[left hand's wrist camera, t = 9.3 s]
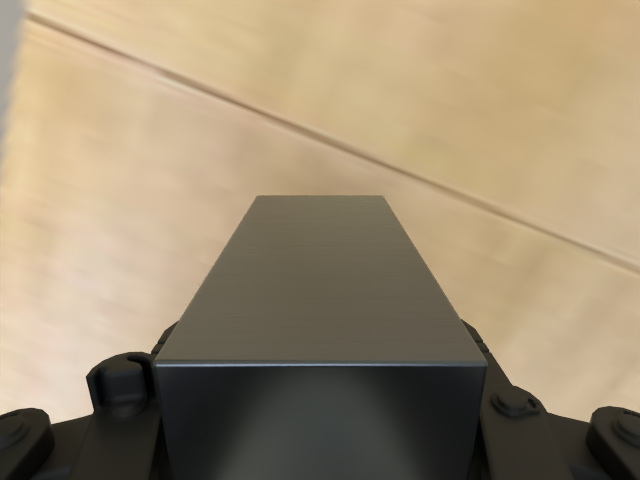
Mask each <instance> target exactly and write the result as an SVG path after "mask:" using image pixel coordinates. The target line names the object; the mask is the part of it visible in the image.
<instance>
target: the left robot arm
mask: <svg viewBox="0 0 640 480" xmlns="http://www.w3.org/2000/svg"><path fill="white" fill-rule="evenodd" d="M461 321H462V322H463V324H464V325H465V327H466V329H467V330H468V332H469V333H470V335H471V337H472V338H473V340H474V341H475V343H476V344H477V346H478V348H479V349H480V351H481V352H482V354H483V356H484V357H485V359H486V360H487V363H488V366H487V372H486V378H485V384H484V390H483V396H482V402H481V407H480V413H479V419H478V425H477V431H476V437H475V443H474V448H473V454H472V460H471V466H470V472H469V478H468V480H640V413H637V412H634V411H631V410H628V409H625V408H620V407H612V406H607V407H601V408H598V409H597V410H596V411H595V412H593V413H592V417H591V420H590V423H588V422H584V421H579V420H575V419H571V418H566V417H562V416H558V415H555V414H551V413H548V412H547V411H546V409H545V408H544V406H543V405H542V403H541V402H540V401H539V400H538V399H537V398H536V397H534V396H533V395H532V394H531V393H529V392H527V391H525V390H523V389H521V388H519V387H517V386H513V385H512V384H511V383H510V381H509V380H508V378H507V376H506V375H505V373H504V372H503V370H502V369H501V367H500V366H499V364H498V363H497V361H496V360H495V358H494V357H493V355H492V354H491V353H489V349H488V348H487V346H486V345H485V343H483V340H482V339H481V337H480V335H479V334H478V332H477V331H476V329H474V328H473V327H472V326H470V325H469V324H468V323H466V322H465V321H463V320H462V319H461ZM178 322H179V321H177V322H176V323H175V324H173V325H172V326H171V327H169V328H168V329H166V330H165V331H164V333H163V334H162V336H161V338H160V339H159V341H158V344H156V345H155V347H154V348H153V350H152V351H151V354H148V353H144V352H128V353H123V354H119V355H115V356H113V357H111V358H108V359H106V360H104V361H102V362H101V363H99V364H98V365H96V366H95V367H94V368H92V370H91V371H90V372H89V373H88V375H87V376H86V380H87V384H88V388H89V392H90V396H91V400H92V404H93V408H94V412H93V414H91V415H88V416H85V417H81V418H77V419H73V420H68V421H64V422H60V423H55V424H51V422H50V419H49V415H48V414H47V413H46V412H44V411H43V410H41V409H36V408H26V409H18V410H15V411H12V412H8V413H6V414H3V415H0V480H172V474H171V469H170V463H169V457H168V451H167V445H166V439H165V433H164V427H163V421H162V416H161V410H160V404H159V398H158V392H157V386H156V380H155V374H154V368H153V363H154V360H155V358H156V357H157V355H158V354H159V352H160V350H161V349H162V347H163V346H164V344H165V342H166V341H167V339H168V338H169V336H170V334H171V333H172V331H173V330H174V328H175V326H176V325H177V323H178Z"/></svg>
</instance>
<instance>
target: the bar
mask: <svg viewBox="0 0 640 480" xmlns="http://www.w3.org/2000/svg"><path fill="white" fill-rule="evenodd" d="M487 366H488V363H487V360H486V359H485V357H484V356H483V354H482V352H481V351H480V349H479V348H478V346H477V344H476V343H475V341H474V340H473V338H472V337H471V335H470V333H469V332H468V330H467V329H466V327H465V325H464V324H463V322H462V321H461V319H460V318H459V316H458V314H457V313H456V311H455V310H454V308H453V306H452V305H451V303H450V302H449V300H448V298H447V297H446V295H445V294H444V292H443V291H442V289H441V287H440V286H439V284H438V283H437V281H436V279H435V278H434V276H433V275H432V273H431V272H430V270H429V268H428V267H427V265H426V264H425V262H424V260H423V259H422V257H421V256H420V254H419V252H418V251H417V249H416V248H415V246H414V245H413V243H412V241H411V240H410V238H409V237H408V235H407V233H406V232H405V230H404V229H403V227H402V226H401V224H400V222H399V221H398V219H397V218H396V216H395V214H394V213H393V211H392V210H391V208H390V206H389V205H388V203H387V202H386V200H385V199H384V197H383V196H257V197H256V198H255V200H254V202H253V203H252V205H251V206H250V208H249V210H248V211H247V213H246V214H245V216H244V218H243V219H242V221H241V222H240V224H239V226H238V227H237V229H236V230H235V232H234V234H233V235H232V237H231V238H230V240H229V242H228V243H227V245H226V246H225V248H224V250H223V251H222V253H221V254H220V256H219V258H218V259H217V261H216V262H215V264H214V266H213V267H212V269H211V270H210V272H209V274H208V275H207V277H206V278H205V280H204V282H203V283H202V285H201V286H200V288H199V290H198V291H197V293H196V294H195V296H194V298H193V299H192V301H191V302H190V304H189V306H188V307H187V309H186V310H185V312H184V314H183V315H182V317H181V318H180V320H179V322H178V323H177V325H176V326H175V328H174V330H173V331H172V333H171V334H170V336H169V338H168V339H167V341H166V342H165V344H164V346H163V347H162V349H161V350H160V352H159V354H158V355H157V357H156V358H155V360H154V363H153V368H154V374H155V380H156V386H157V392H158V398H159V404H160V410H161V416H162V421H163V427H164V433H165V439H166V445H167V451H168V457H169V463H170V469H171V474H172V480H468V478H469V472H470V466H471V460H472V454H473V448H474V443H475V437H476V431H477V425H478V419H479V413H480V407H481V402H482V396H483V390H484V384H485V378H486V372H487Z"/></svg>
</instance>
